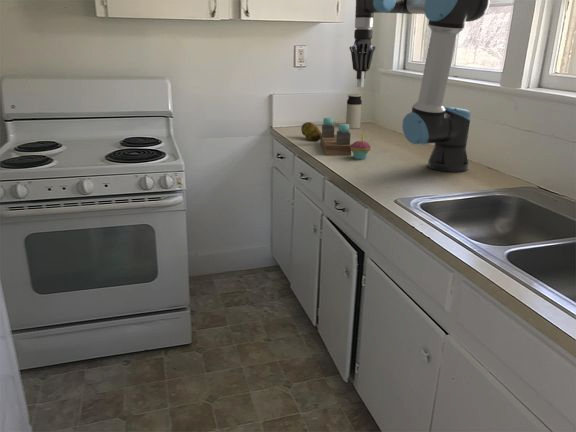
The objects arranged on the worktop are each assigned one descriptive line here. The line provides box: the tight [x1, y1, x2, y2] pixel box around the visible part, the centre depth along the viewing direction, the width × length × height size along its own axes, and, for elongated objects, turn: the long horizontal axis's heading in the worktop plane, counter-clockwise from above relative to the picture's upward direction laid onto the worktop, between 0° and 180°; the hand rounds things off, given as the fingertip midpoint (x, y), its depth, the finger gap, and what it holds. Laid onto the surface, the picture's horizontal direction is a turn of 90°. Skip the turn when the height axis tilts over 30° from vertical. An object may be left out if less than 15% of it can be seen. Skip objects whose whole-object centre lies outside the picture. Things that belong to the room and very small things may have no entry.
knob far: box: [322, 117, 334, 126], centre depth 222 cm, size 5×5×8 cm
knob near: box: [337, 123, 350, 133], centre depth 208 cm, size 5×5×8 cm
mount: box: [319, 124, 352, 156], centre depth 216 cm, size 26×11×9 cm, turn 1°
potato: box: [300, 121, 322, 142], centre depth 236 cm, size 8×13×8 cm, turn 15°
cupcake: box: [350, 128, 371, 160], centre depth 199 cm, size 9×8×12 cm
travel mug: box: [345, 93, 363, 130], centre depth 266 cm, size 8×8×18 cm
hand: (360, 86), depth 209 cm, fingers closed
